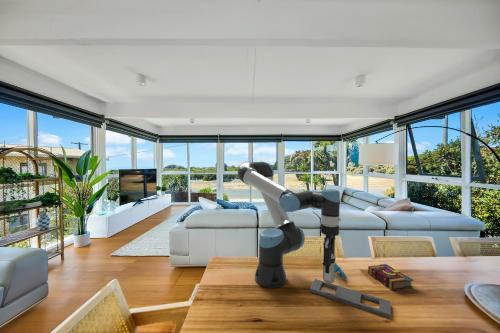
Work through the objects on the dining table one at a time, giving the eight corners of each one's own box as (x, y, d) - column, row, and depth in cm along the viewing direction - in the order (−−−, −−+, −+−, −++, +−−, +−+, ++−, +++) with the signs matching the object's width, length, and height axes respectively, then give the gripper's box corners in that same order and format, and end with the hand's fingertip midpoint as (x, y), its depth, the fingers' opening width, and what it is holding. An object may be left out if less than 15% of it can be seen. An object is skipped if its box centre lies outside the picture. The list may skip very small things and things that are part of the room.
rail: (309, 291, 94) (309, 288, 94) (315, 281, 102) (315, 278, 102) (390, 318, 79) (391, 314, 79) (389, 304, 86) (390, 301, 86)
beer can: (321, 278, 97) (321, 252, 96) (331, 277, 97) (332, 251, 97) (325, 284, 92) (326, 256, 91) (336, 284, 92) (337, 256, 92)
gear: (349, 279, 101) (334, 262, 104) (340, 287, 102) (324, 270, 104) (345, 271, 112) (331, 255, 115) (336, 278, 113) (322, 262, 115)
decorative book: (392, 291, 96) (393, 280, 95) (365, 273, 111) (365, 263, 111) (413, 288, 98) (413, 278, 98) (383, 271, 114) (384, 261, 114)
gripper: (335, 231, 84) (334, 289, 85) (342, 221, 99) (341, 270, 100) (316, 228, 88) (314, 283, 89) (325, 218, 103) (324, 266, 104)
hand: (328, 276), depth 94 cm, fingers closed on beer can, 5 cm apart
